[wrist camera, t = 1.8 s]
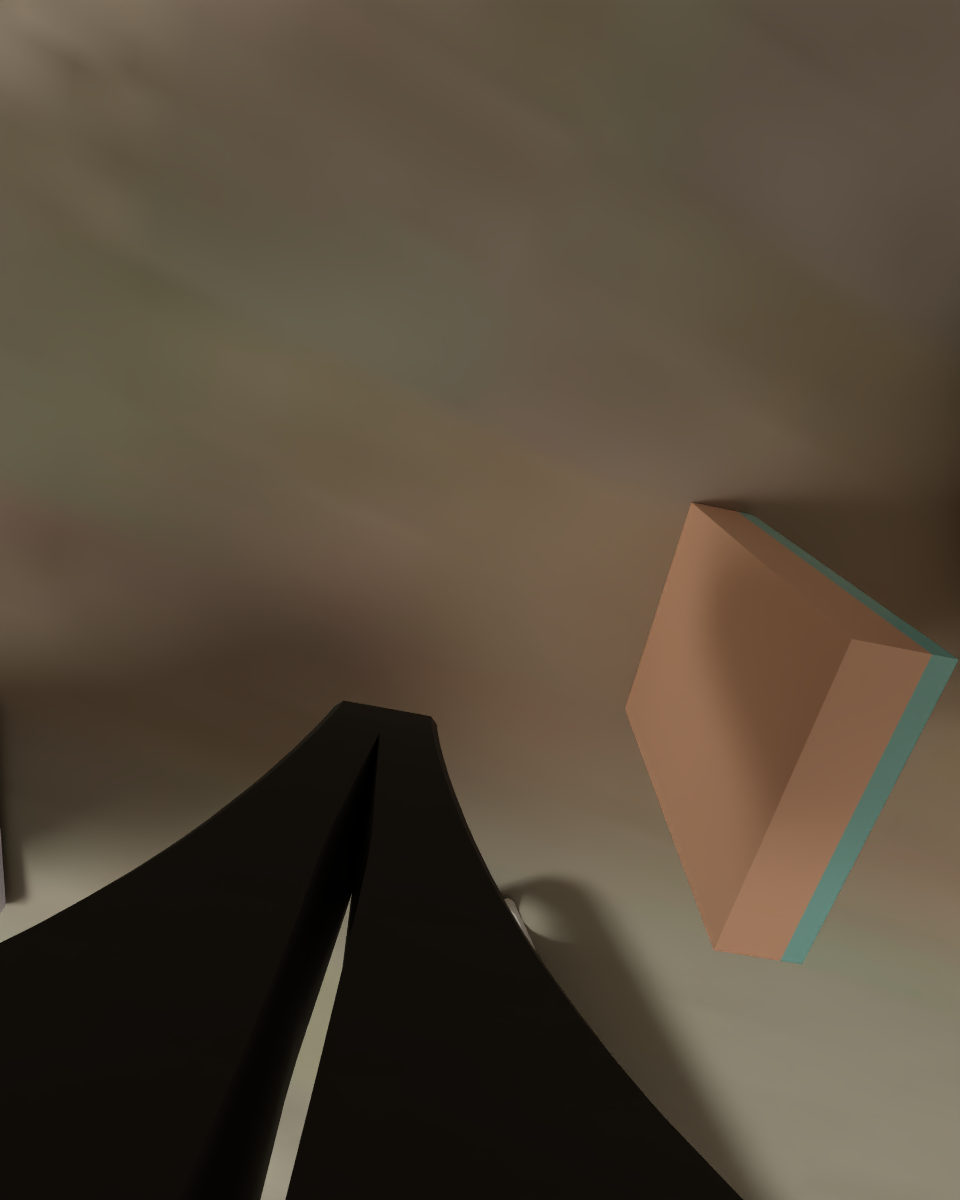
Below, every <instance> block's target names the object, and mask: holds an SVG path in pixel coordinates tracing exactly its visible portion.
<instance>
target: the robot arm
mask: <svg viewBox="0 0 960 1200" xmlns="http://www.w3.org/2000/svg"><path fill="white" fill-rule="evenodd" d="M351 894H352V896H351ZM350 897H351V904H350V912H349V920H348V928H347V936H346V944H345V952H344V960H343V968H342V972H341V976H340V981H339V985H338V989H337V993H336V997H335V1001H334V1005H333V1010H332V1014H331V1018H330V1022H329V1026H328V1030H327V1034H326V1038H325V1043H324V1047H323V1051H322V1055H321V1059H320V1063H319V1067H318V1071H317V1075H316V1079H315V1083H314V1087H313V1091H312V1095H311V1100H310V1104H309V1108H308V1112H307V1116H306V1120H305V1124H304V1128H303V1132H302V1136H301V1140H300V1144H299V1148H298V1152H297V1156H296V1160H295V1164H294V1168H293V1172H292V1176H291V1180H290V1184H289V1188H288V1192H287V1196H286V1200H743V1199H742V1198H741V1197H740V1196H739V1195H738V1194H737V1193H736V1192H735V1191H734V1190H733V1189H732V1188H731V1187H730V1186H729V1184H728V1183H727V1182H726V1181H725V1180H724V1179H723V1178H722V1177H721V1176H720V1175H719V1174H718V1173H717V1172H716V1171H715V1170H714V1169H713V1168H712V1167H711V1166H710V1165H709V1164H708V1162H707V1161H706V1160H705V1159H704V1158H703V1157H702V1156H701V1155H700V1154H699V1153H698V1152H697V1151H696V1150H695V1149H694V1148H693V1147H692V1146H691V1145H690V1144H689V1143H688V1142H687V1141H686V1139H685V1138H684V1137H683V1136H682V1135H681V1134H680V1133H679V1132H678V1131H677V1130H676V1129H675V1128H674V1127H673V1126H672V1125H671V1124H670V1123H669V1122H668V1121H667V1120H666V1119H665V1117H664V1116H663V1115H662V1114H661V1113H660V1112H659V1111H658V1110H657V1108H656V1107H655V1106H654V1105H653V1104H652V1103H651V1102H650V1101H649V1099H648V1098H647V1097H646V1096H645V1095H644V1093H643V1092H642V1091H641V1090H640V1089H639V1088H638V1086H637V1085H636V1084H635V1083H634V1082H633V1080H632V1079H631V1078H630V1077H629V1076H628V1075H627V1073H626V1072H625V1071H624V1070H623V1069H622V1067H621V1066H620V1065H619V1064H618V1063H617V1062H616V1060H615V1059H614V1058H613V1057H612V1056H611V1054H610V1053H609V1052H608V1050H607V1049H606V1048H605V1046H604V1045H603V1044H602V1042H601V1041H600V1040H599V1038H598V1037H597V1036H596V1034H595V1033H594V1032H593V1030H592V1029H591V1028H590V1026H589V1025H588V1024H587V1022H586V1021H585V1020H584V1018H583V1017H582V1016H581V1014H580V1013H579V1012H578V1010H577V1009H576V1008H575V1006H574V1005H573V1004H572V1002H571V1001H570V1000H569V998H568V997H567V996H566V994H565V993H564V992H563V990H562V989H561V988H560V986H559V985H558V984H557V982H556V981H555V980H554V978H553V977H552V975H551V974H550V972H549V971H548V969H547V968H546V966H545V965H544V963H543V962H542V960H541V959H540V957H539V956H538V954H537V952H536V951H535V949H534V948H533V946H532V945H531V943H530V942H529V940H528V939H527V937H526V936H525V934H524V932H523V931H522V929H521V927H520V926H519V924H518V922H517V920H516V919H515V917H514V915H513V914H512V912H511V910H510V909H509V907H508V905H507V904H506V902H505V900H504V898H503V896H502V895H501V893H500V891H499V889H498V887H497V885H496V883H495V882H494V880H493V878H492V876H491V874H490V872H489V870H488V868H487V866H486V864H485V862H484V860H483V858H482V855H481V853H480V851H479V849H478V847H477V845H476V843H475V841H474V839H473V836H472V834H471V832H470V829H469V827H468V825H467V823H466V820H465V818H464V815H463V812H462V810H461V807H460V805H459V802H458V800H457V797H456V795H455V792H454V789H453V786H452V784H451V781H450V778H449V775H448V772H447V768H446V765H445V762H444V758H443V755H442V751H441V747H440V742H439V737H438V731H437V724H436V723H435V722H434V720H433V719H432V717H431V716H426V715H421V714H415V713H409V712H404V711H398V710H393V709H387V708H381V707H376V706H370V705H365V704H359V703H353V702H348V701H343V702H341V703H340V704H338V705H336V706H335V707H334V708H333V709H332V710H331V711H330V712H329V714H328V715H327V716H326V717H325V718H324V719H323V720H322V721H321V722H320V723H319V724H318V725H317V726H316V727H315V728H314V729H313V730H312V731H311V732H310V733H309V734H308V735H307V736H306V737H305V738H304V739H303V740H302V741H301V742H300V743H299V744H298V745H297V746H296V747H295V748H294V749H293V750H292V751H291V752H290V753H288V754H287V755H286V756H285V757H284V758H283V759H282V760H281V761H279V762H278V763H277V764H276V765H275V766H274V767H273V768H272V769H270V770H269V771H268V772H267V773H266V774H265V775H264V776H263V777H261V778H260V779H259V780H258V781H257V782H255V783H254V784H253V785H252V786H251V787H249V788H248V789H247V790H245V791H244V792H243V793H242V794H240V795H239V796H238V797H236V798H235V799H234V800H233V801H231V802H230V803H229V804H227V805H226V806H225V807H224V808H222V809H221V810H220V811H219V812H217V813H216V814H215V815H213V816H212V817H211V818H210V819H208V820H207V821H205V822H204V823H203V824H201V825H200V826H198V827H197V828H196V829H194V830H193V831H191V832H190V833H189V834H187V835H186V836H184V837H183V838H181V839H180V840H179V841H177V842H176V843H174V844H173V845H171V846H170V847H168V848H167V849H165V850H164V851H162V852H161V853H159V854H157V855H156V856H154V857H153V858H151V859H150V860H148V861H147V862H145V863H143V864H142V865H140V866H139V867H137V868H136V869H134V870H132V871H131V872H129V873H127V874H126V875H124V876H122V877H121V878H119V879H117V880H115V881H114V882H112V883H110V884H109V885H107V886H105V887H103V888H102V889H100V890H98V891H97V892H95V893H93V894H91V895H90V896H88V897H86V898H85V899H83V900H81V901H79V902H77V903H76V904H74V905H72V906H70V907H68V908H66V909H65V910H63V911H61V912H59V913H57V914H56V915H54V916H52V917H50V918H48V919H47V920H45V921H43V922H41V923H39V924H37V925H35V926H33V927H31V928H29V929H27V930H25V931H23V932H21V933H19V934H17V935H15V936H13V937H11V938H9V939H7V940H5V941H3V942H1V943H0V1200H260V1199H261V1195H262V1191H263V1187H264V1183H265V1179H266V1174H267V1170H268V1166H269V1162H270V1158H271V1154H272V1150H273V1146H274V1142H275V1138H276V1134H277V1130H278V1126H279V1122H280V1118H281V1113H282V1109H283V1105H284V1101H285V1098H286V1094H287V1091H288V1087H289V1084H290V1081H291V1077H292V1074H293V1070H294V1067H295V1064H296V1060H297V1057H298V1054H299V1051H300V1048H301V1045H302V1042H303V1039H304V1036H305V1033H306V1030H307V1027H308V1024H309V1021H310V1018H311V1015H312V1012H313V1009H314V1006H315V1003H316V1000H317V997H318V994H319V991H320V988H321V985H322V982H323V979H324V976H325V973H326V970H327V967H328V964H329V961H330V958H331V955H332V952H333V949H334V946H335V943H336V940H337V937H338V934H339V931H340V928H341V925H342V922H343V919H344V916H345V913H346V910H347V906H348V903H349V900H350ZM5 903H6V901H5V887H4V873H3V859H2V844H1V830H0V912H1V911H2V910H3V908H4V907H5Z"/></svg>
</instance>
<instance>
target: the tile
mask: <svg viewBox="0 0 960 1200" xmlns="http://www.w3.org/2000/svg"><path fill="white" fill-rule="evenodd" d="M958 660H959V659H957V658H956V657H954V656H953V655H952V654H950V653H949V652H947V651H946V650H944V649H943V648H942V647H940V646H939V645H937V644H936V643H934V642H933V641H932V640H930V639H929V638H927V637H926V636H925V635H923V634H922V633H920V632H919V631H917V630H916V629H915V628H913V627H912V626H910V625H909V624H907V623H906V622H905V621H903V620H902V619H900V618H899V617H898V616H896V615H895V614H893V613H892V612H890V611H889V610H888V609H886V608H885V607H883V606H882V605H880V604H879V603H878V602H876V601H875V600H873V599H872V598H871V597H869V596H868V595H866V594H865V593H863V592H862V591H861V590H859V589H858V588H856V587H855V586H853V585H852V584H851V583H849V582H848V581H846V580H845V579H843V578H842V577H841V576H839V575H838V574H836V573H835V572H834V571H832V570H831V569H829V568H828V567H826V566H825V565H824V564H822V563H821V562H819V561H818V560H816V559H815V558H814V557H812V556H811V555H809V554H808V553H807V552H805V551H804V550H802V549H801V548H799V547H798V546H797V545H795V544H794V543H792V542H791V541H789V540H788V539H787V538H785V537H784V536H782V535H781V534H780V533H778V532H777V531H775V530H774V529H772V528H771V527H770V526H768V525H767V524H765V523H764V522H762V521H761V520H760V519H758V518H757V517H755V516H754V515H751V514H746V513H741V512H737V511H732V510H727V509H722V508H717V507H712V506H707V505H702V504H697V503H692V502H691V505H690V508H689V512H688V515H687V518H686V521H685V524H684V527H683V530H682V533H681V536H680V539H679V543H678V546H677V549H676V552H675V555H674V558H673V561H672V564H671V567H670V570H669V574H668V577H667V580H666V583H665V586H664V589H663V592H662V595H661V598H660V601H659V605H658V608H657V611H656V614H655V617H654V620H653V623H652V626H651V629H650V632H649V636H648V639H647V642H646V645H645V648H644V651H643V654H642V657H641V660H640V663H639V667H638V670H637V673H636V676H635V679H634V682H633V685H632V688H631V691H630V694H629V698H628V701H627V704H626V707H625V710H626V713H627V716H628V719H629V721H630V724H631V727H632V729H633V732H634V735H635V738H636V740H637V743H638V746H639V749H640V751H641V754H642V757H643V759H644V762H645V765H646V768H647V770H648V773H649V776H650V778H651V781H652V784H653V787H654V789H655V792H656V795H657V797H658V800H659V803H660V806H661V808H662V811H663V814H664V816H665V819H666V822H667V825H668V827H669V830H670V833H671V835H672V838H673V841H674V844H675V846H676V849H677V852H678V855H679V857H680V860H681V863H682V865H683V868H684V871H685V874H686V876H687V879H688V882H689V884H690V887H691V890H692V893H693V895H694V898H695V901H696V903H697V906H698V909H699V912H700V914H701V917H702V920H703V922H704V925H705V928H706V931H707V933H708V936H709V939H710V941H711V944H712V947H713V950H716V951H722V952H729V953H735V954H741V955H748V956H754V957H760V958H767V959H773V960H779V961H785V962H792V963H798V964H802V963H803V962H804V960H805V958H806V956H807V954H808V952H809V950H810V948H811V946H812V944H813V942H814V940H815V938H816V936H817V934H818V932H819V930H820V928H821V927H822V925H823V923H824V921H825V919H826V917H827V915H828V913H829V911H830V909H831V907H832V905H833V903H834V901H835V899H836V897H837V895H838V893H839V892H840V890H841V888H842V886H843V884H844V882H845V880H846V878H847V876H848V874H849V872H850V870H851V868H852V866H853V864H854V862H855V860H856V858H857V856H858V855H859V853H860V851H861V849H862V847H863V845H864V843H865V841H866V839H867V837H868V835H869V833H870V831H871V829H872V827H873V825H874V823H875V821H876V820H877V818H878V816H879V814H880V812H881V810H882V808H883V806H884V804H885V802H886V800H887V798H888V796H889V794H890V792H891V790H892V788H893V786H894V785H895V783H896V781H897V779H898V777H899V775H900V773H901V771H902V769H903V767H904V765H905V763H906V761H907V759H908V757H909V755H910V753H911V751H912V750H913V748H914V746H915V744H916V742H917V740H918V738H919V736H920V734H921V732H922V730H923V728H924V726H925V724H926V722H927V720H928V718H929V716H930V715H931V713H932V711H933V709H934V707H935V705H936V703H937V701H938V699H939V697H940V695H941V693H942V691H943V689H944V687H945V685H946V683H947V681H948V680H949V678H950V676H951V674H952V672H953V670H954V668H955V666H956V664H957V662H958Z"/></svg>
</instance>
